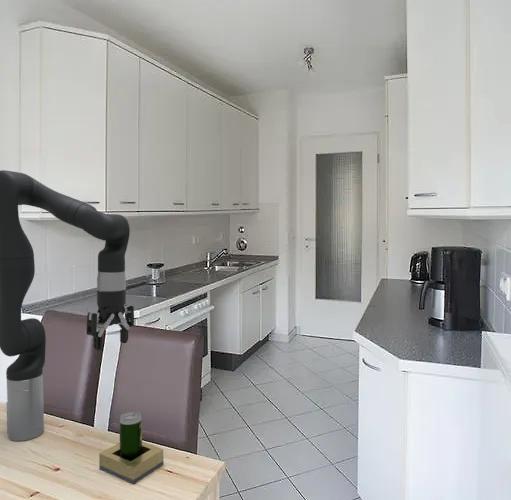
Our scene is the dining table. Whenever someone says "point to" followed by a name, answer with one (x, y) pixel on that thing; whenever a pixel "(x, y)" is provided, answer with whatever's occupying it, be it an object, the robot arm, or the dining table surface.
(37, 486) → the dining table surface
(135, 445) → the beer can
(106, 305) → the robot arm
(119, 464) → the socket block
